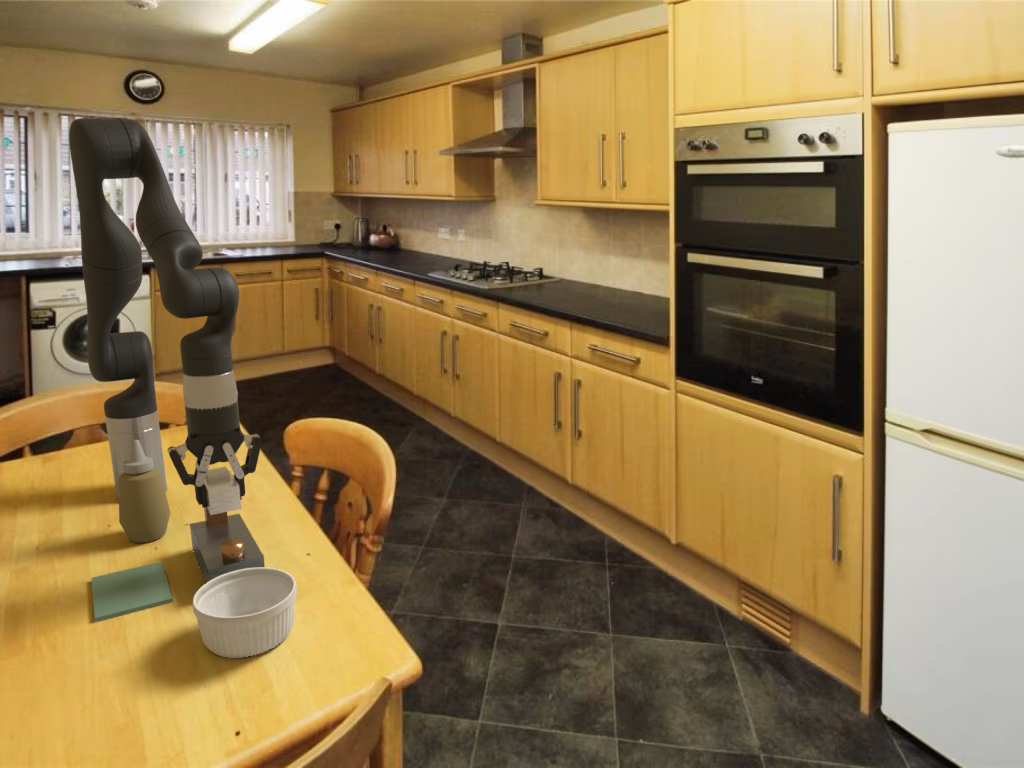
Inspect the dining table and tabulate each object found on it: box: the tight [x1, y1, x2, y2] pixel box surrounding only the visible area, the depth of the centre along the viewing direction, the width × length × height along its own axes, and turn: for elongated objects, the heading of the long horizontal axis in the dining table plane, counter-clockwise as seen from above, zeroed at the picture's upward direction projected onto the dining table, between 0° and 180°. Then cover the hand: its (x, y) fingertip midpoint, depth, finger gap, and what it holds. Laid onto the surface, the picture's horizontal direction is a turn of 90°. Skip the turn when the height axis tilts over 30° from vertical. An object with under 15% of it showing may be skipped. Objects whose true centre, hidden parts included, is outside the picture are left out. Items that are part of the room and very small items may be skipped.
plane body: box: [189, 507, 266, 584], centre depth 113 cm, size 18×8×9 cm, turn 32°
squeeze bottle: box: [118, 440, 171, 544], centre depth 122 cm, size 8×8×18 cm
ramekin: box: [192, 566, 298, 659], centre depth 95 cm, size 13×13×7 cm
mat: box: [91, 560, 174, 623], centre depth 107 cm, size 13×10×1 cm
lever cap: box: [204, 466, 242, 515], centre depth 111 cm, size 7×4×5 cm, turn 33°
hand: (221, 501), depth 111 cm, fingers closed on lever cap, 4 cm apart
